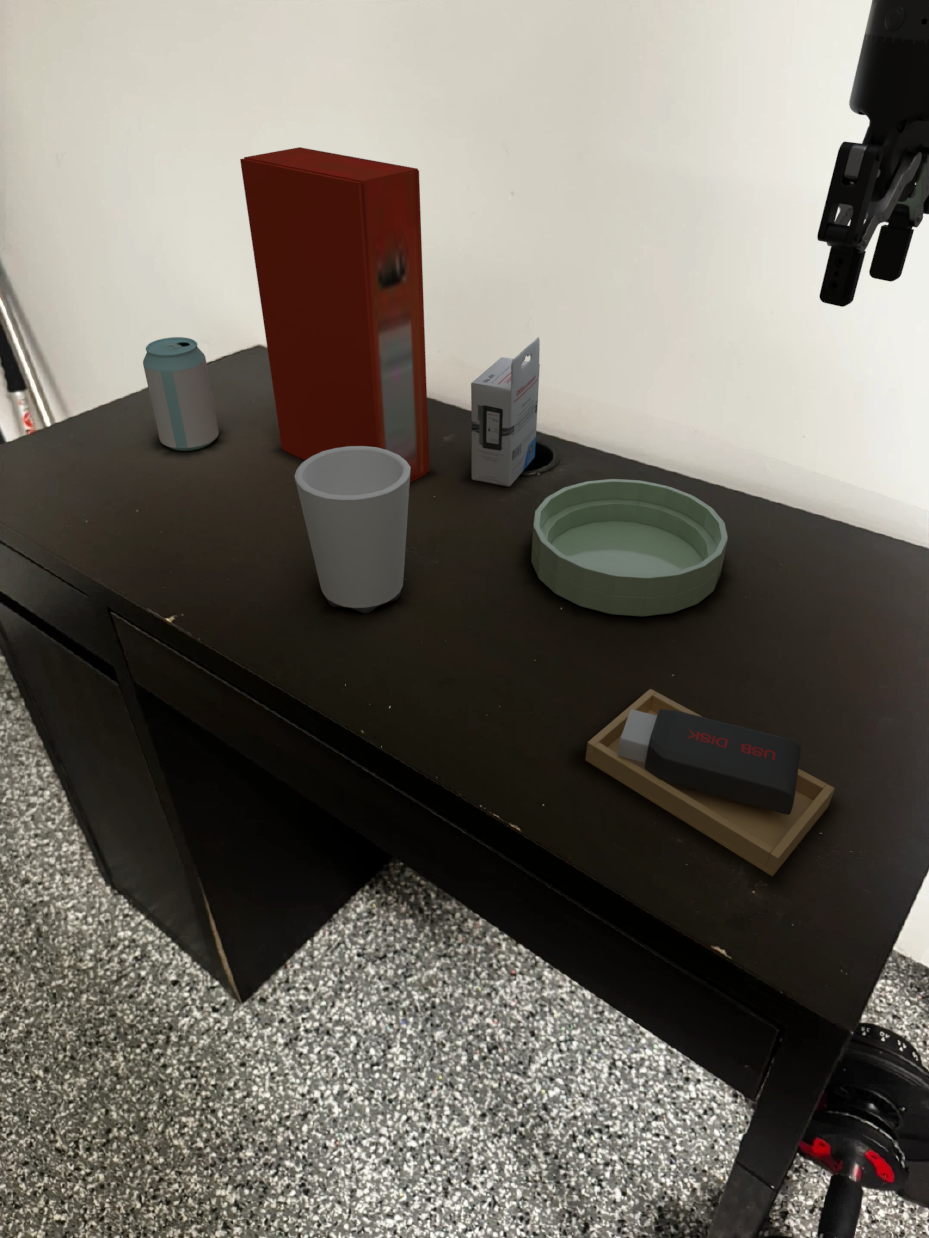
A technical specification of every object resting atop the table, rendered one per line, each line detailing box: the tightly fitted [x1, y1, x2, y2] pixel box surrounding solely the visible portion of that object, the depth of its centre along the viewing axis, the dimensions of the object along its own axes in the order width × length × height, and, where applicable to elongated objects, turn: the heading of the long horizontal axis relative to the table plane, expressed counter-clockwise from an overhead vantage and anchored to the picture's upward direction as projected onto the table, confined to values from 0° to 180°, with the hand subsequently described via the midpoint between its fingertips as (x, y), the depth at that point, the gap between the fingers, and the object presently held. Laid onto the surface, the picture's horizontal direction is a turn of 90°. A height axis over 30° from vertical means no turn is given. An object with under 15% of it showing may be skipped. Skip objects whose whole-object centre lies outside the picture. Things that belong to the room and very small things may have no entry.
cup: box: [294, 446, 411, 614], centre depth 80 cm, size 10×10×13 cm
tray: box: [584, 688, 836, 877], centre depth 64 cm, size 15×8×2 cm, turn 47°
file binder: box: [239, 147, 430, 483], centre depth 95 cm, size 8×17×32 cm, turn 48°
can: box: [142, 336, 220, 452], centre depth 106 cm, size 7×7×12 cm
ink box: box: [470, 336, 541, 488], centre depth 99 cm, size 8×5×15 cm, turn 156°
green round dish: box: [530, 478, 729, 617], centre depth 86 cm, size 18×18×4 cm
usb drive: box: [618, 709, 801, 815], centre depth 62 cm, size 5×12×3 cm, turn 69°
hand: (860, 290), depth 66 cm, fingers open, 8 cm apart
